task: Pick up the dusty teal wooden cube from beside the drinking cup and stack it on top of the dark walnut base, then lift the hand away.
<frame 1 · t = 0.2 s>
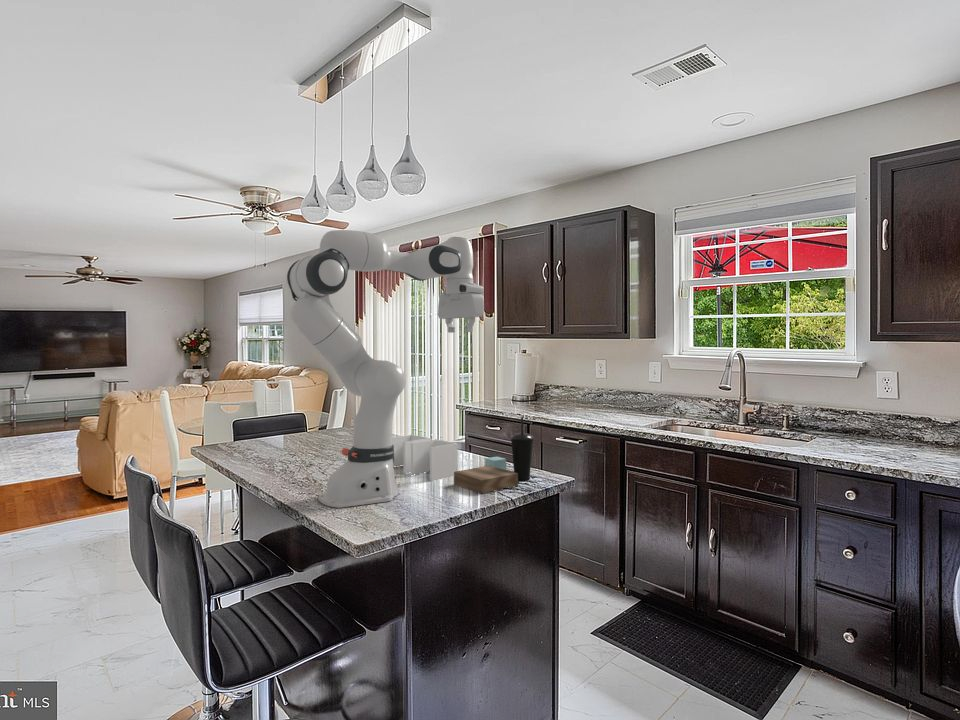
hand: (459, 332, 179), 47 cm above the worktop, tool pointing down, fingers open, 8 cm apart
drinking cup: (522, 479, 179), on the worktop
walnut base: (485, 485, 171), on the worktop
storage container: (421, 473, 189), on the worktop
teal cube: (495, 473, 188), on the worktop
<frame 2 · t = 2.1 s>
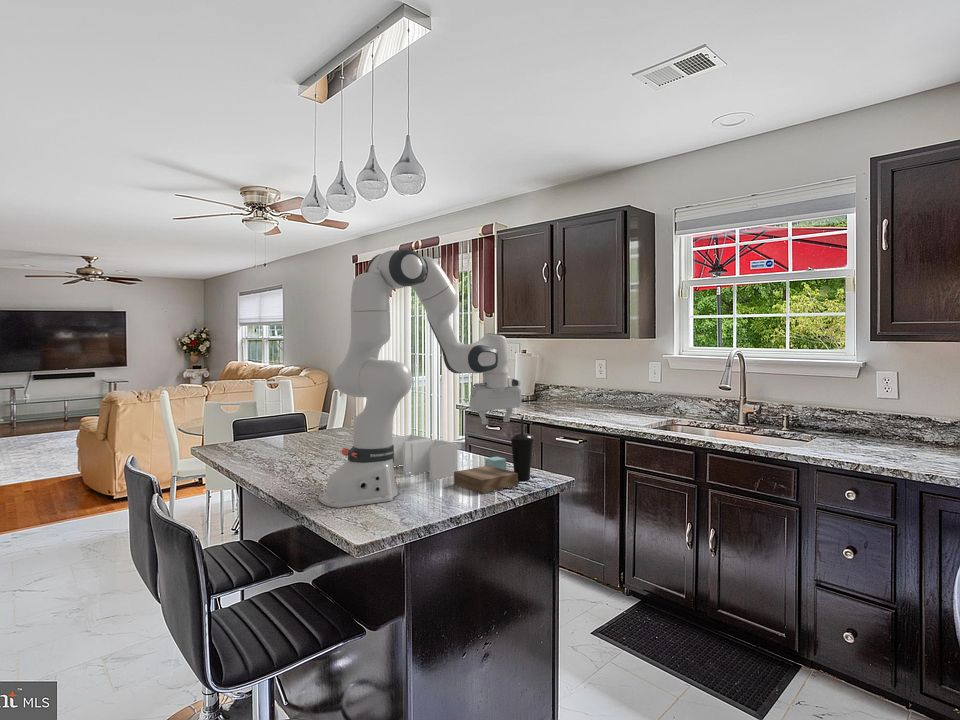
hand: (496, 422, 187), 17 cm above the worktop, tool pointing down, fingers open, 8 cm apart
nothing on the worktop moved.
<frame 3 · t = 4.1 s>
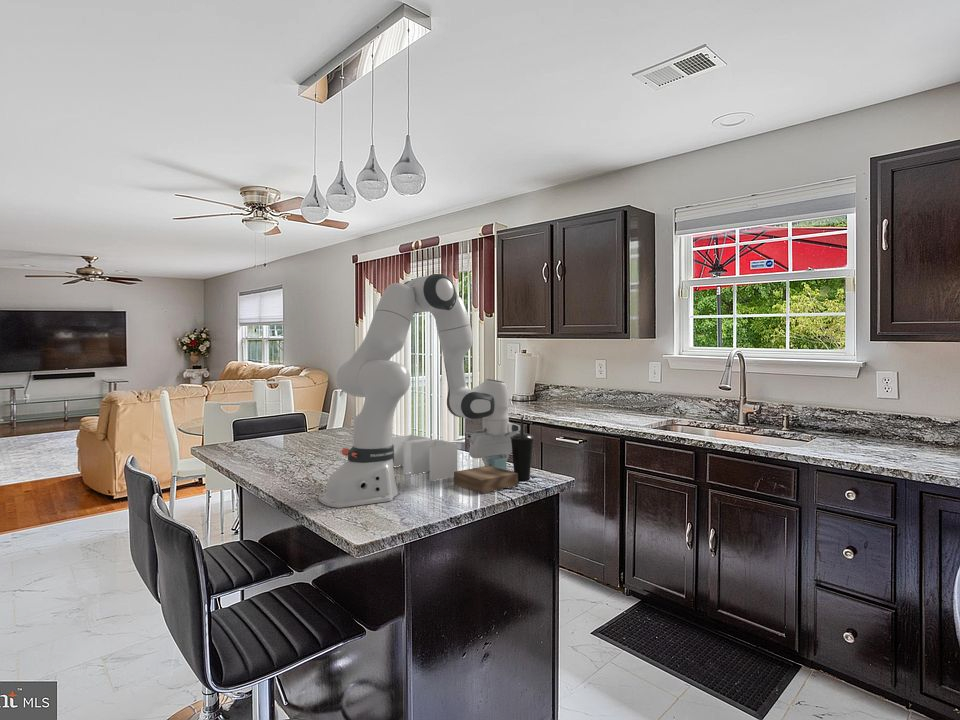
hand: (495, 468, 188), 2 cm above the worktop, tool pointing down, fingers closed on teal cube, 5 cm apart
teal cube: (495, 473, 188), on the worktop, touching gripper
everything else where it was.
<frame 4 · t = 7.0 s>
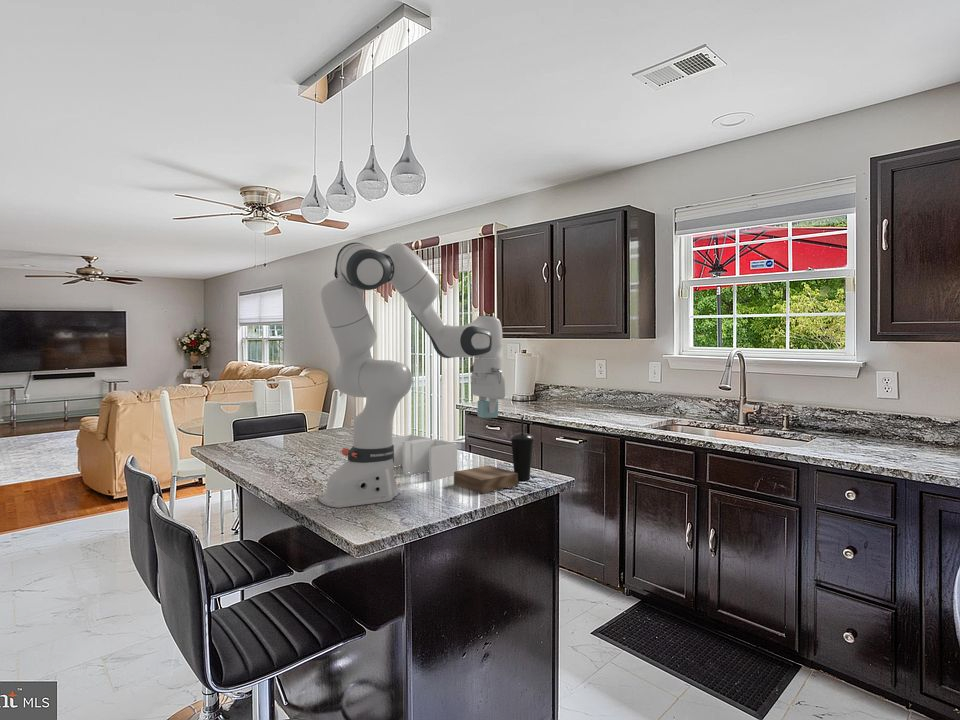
hand: (487, 411, 174), 22 cm above the worktop, tool pointing down, fingers closed on teal cube, 5 cm apart
teal cube: (487, 416, 174), point 21 cm above the worktop, touching gripper
everything else where it was.
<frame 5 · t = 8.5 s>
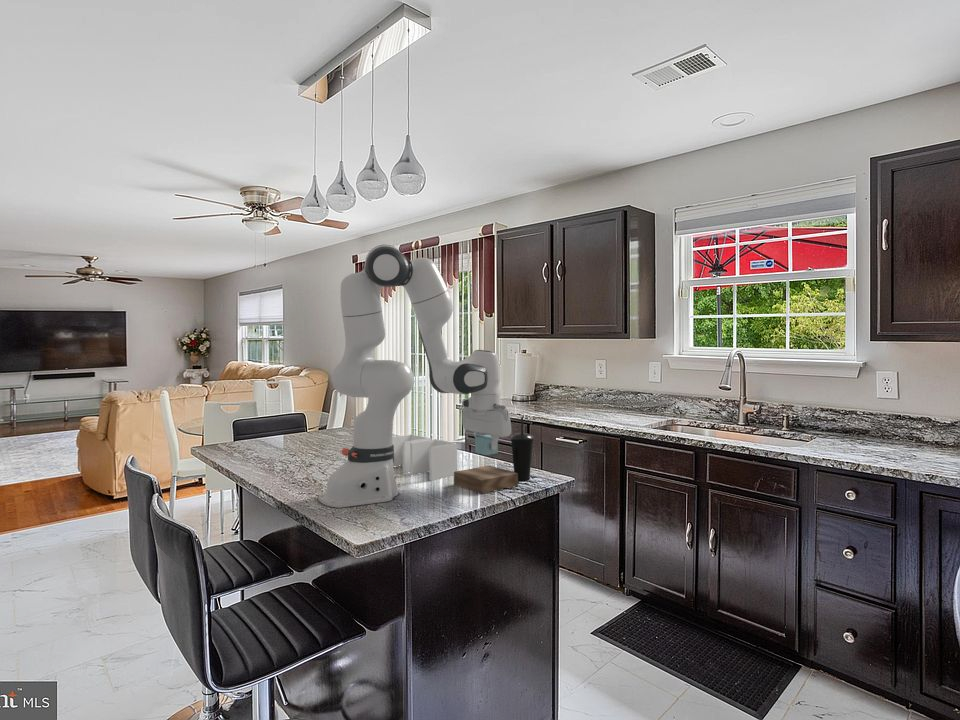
hand: (486, 447, 171), 12 cm above the worktop, tool pointing down, fingers closed on teal cube, 5 cm apart
teal cube: (486, 452, 171), point 10 cm above the worktop, touching gripper
everything else where it was.
when the fingers open (7 cm above the worktop, at t = 9.9 s): teal cube drops 1 cm, resting on walnut base.
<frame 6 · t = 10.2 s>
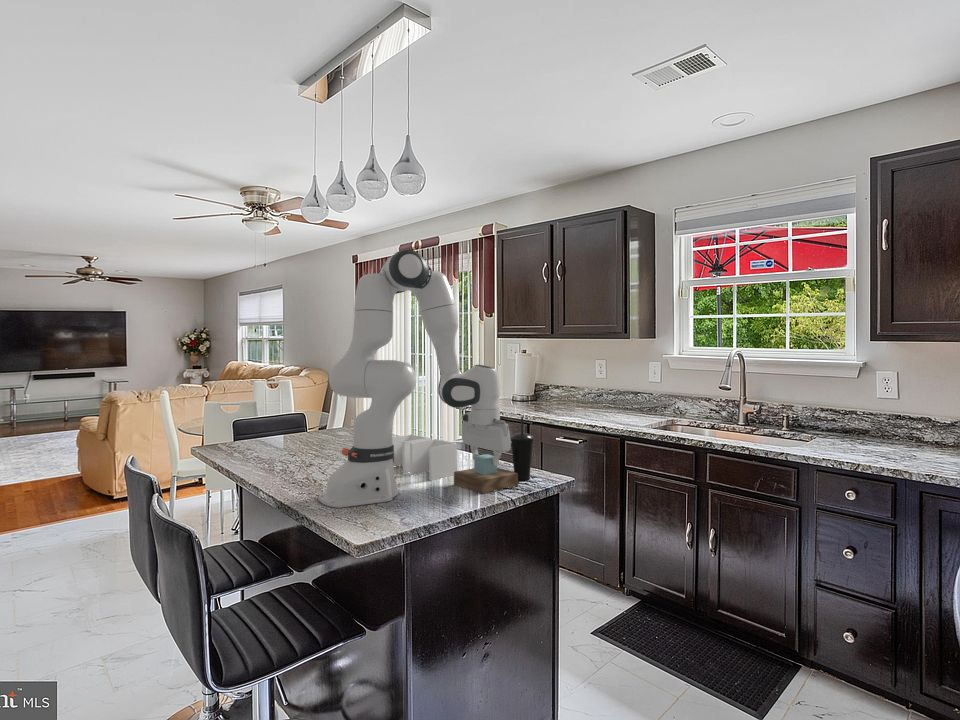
hand: (485, 462, 171), 7 cm above the worktop, tool pointing down, fingers open, 8 cm apart
teal cube: (485, 472, 171), point 4 cm above the worktop, touching walnut base
everything else where it was.
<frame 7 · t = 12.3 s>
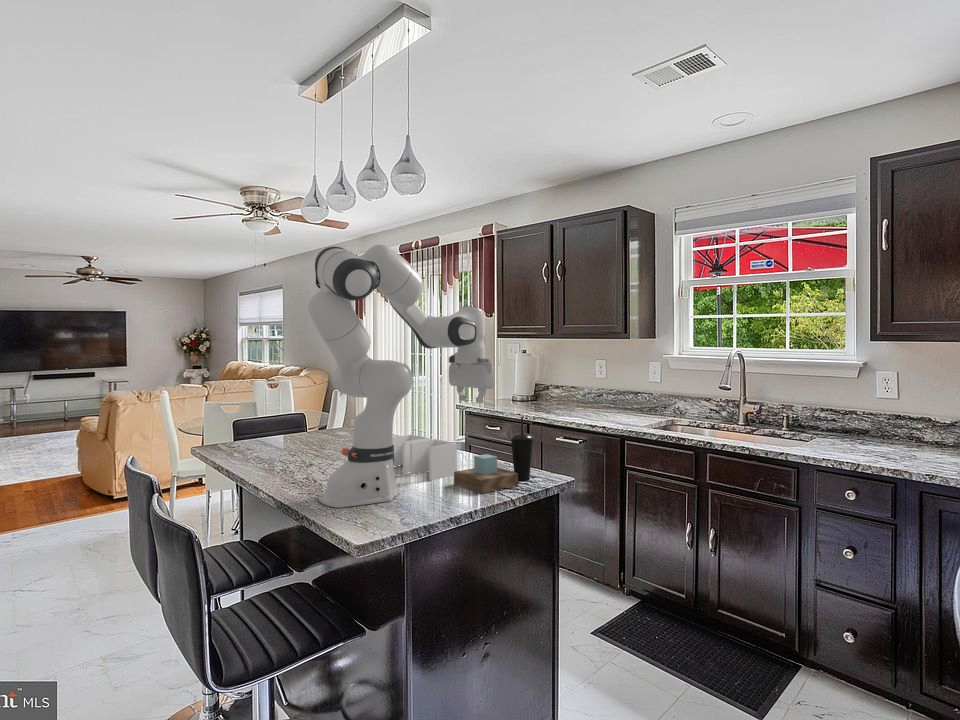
hand: (470, 401, 176), 25 cm above the worktop, tool pointing down, fingers open, 8 cm apart
nothing on the worktop moved.
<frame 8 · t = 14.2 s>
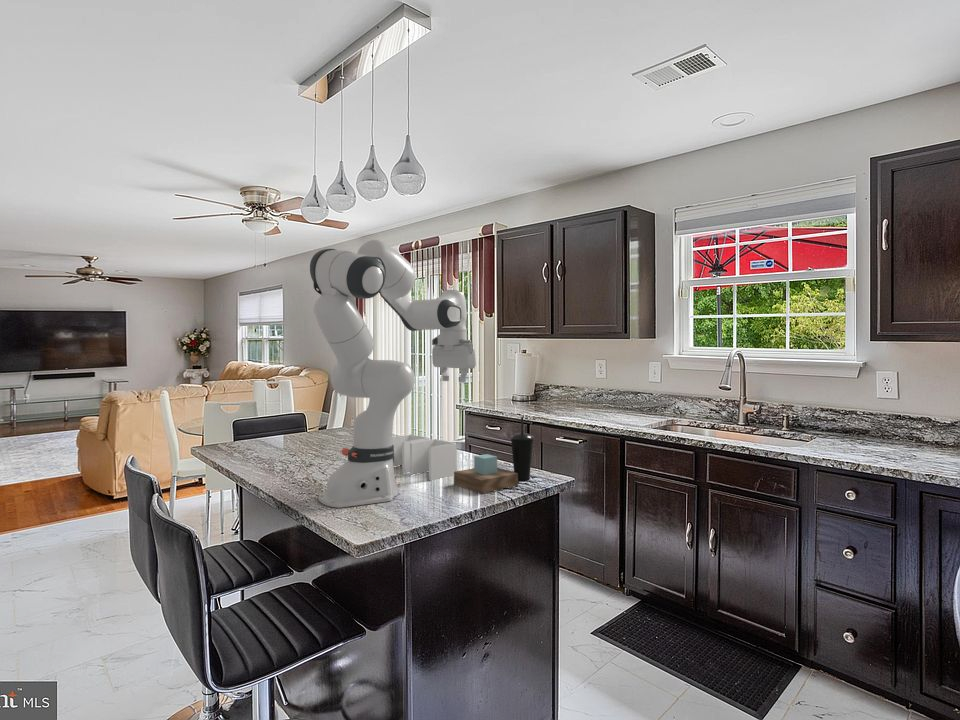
hand: (453, 381, 184), 31 cm above the worktop, tool pointing down, fingers open, 8 cm apart
nothing on the worktop moved.
at the end: teal cube inside the target area on the walnut base (0.0 cm from its centre), point 4.0 cm above the walnut base's base; teal cube tilted 0°; the gripper is holding nothing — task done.
